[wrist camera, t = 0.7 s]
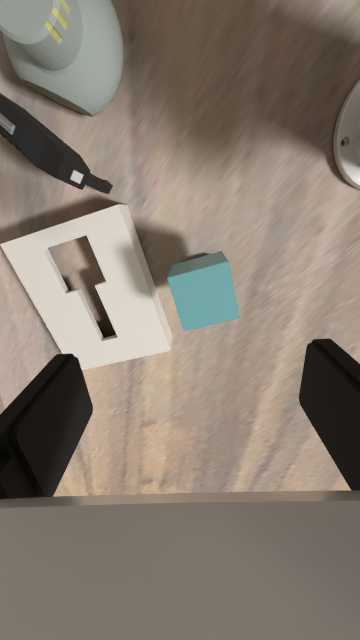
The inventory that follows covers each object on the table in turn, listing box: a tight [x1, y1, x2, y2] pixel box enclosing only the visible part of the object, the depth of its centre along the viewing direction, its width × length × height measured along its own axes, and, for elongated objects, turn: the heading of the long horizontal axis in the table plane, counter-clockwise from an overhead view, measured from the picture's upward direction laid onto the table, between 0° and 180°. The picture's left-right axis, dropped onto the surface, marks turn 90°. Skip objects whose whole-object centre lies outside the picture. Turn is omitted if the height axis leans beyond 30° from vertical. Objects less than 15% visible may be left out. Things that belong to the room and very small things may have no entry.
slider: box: [167, 251, 240, 331], centre depth 29 cm, size 6×6×11 cm
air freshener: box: [0, 0, 124, 117], centre depth 21 cm, size 11×8×10 cm
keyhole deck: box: [0, 204, 172, 370], centre depth 34 cm, size 16×20×4 cm
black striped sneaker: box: [0, 94, 113, 194], centre depth 26 cm, size 3×16×10 cm, turn 55°
